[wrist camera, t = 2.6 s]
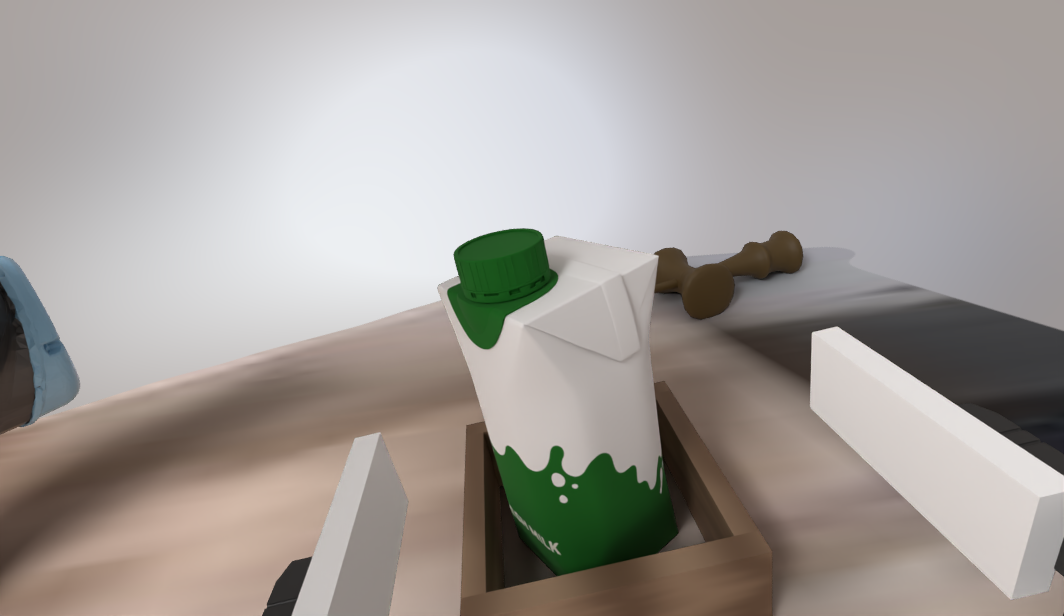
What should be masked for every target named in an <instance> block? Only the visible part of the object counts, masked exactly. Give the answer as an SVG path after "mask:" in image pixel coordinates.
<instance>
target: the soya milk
mask: <svg viewBox="0 0 1064 616" xmlns="http://www.w3.org/2000/svg"><path fill="white" fill-rule="evenodd" d="M658 258H659V256H658V255H653V254H648V253H643V252H637V251H633V250H628V249H622V248H618V247H612V246H607V245H602V244H597V243H592V242H586V241H581V240H576V239H571V238H566V237H560V236H554V237H552V238H550V239H547V240H545V241H544V238H543V236H542V234H541V233H540V232H539V231H537V230H534V229H509V230H503V231H497V232H493V233H489V234H486V235H483V236H479V237H477V238H474V239H472V240H470V241H467V242H466V243H464V244H462V245H461V246H459V247H458V248H457V249H456V250H455V252H454V260H455V263H456V267H457V271H458V275H459V276H457V277H455V278H452V279H450V280H448V281H446V282H444V283H441V284H439V285H438V288H437V289H438V292H439V294H440V297H441V299H442V302H443V304H444V307H445V309H446V312H447V314H448V317H449V319H450V322H451V324H452V327H453V329H454V332H455V334H456V337H457V339H458V342H459V345H460V347H461V350H462V352H463V355H464V357H465V360H466V363H467V365H468V368H469V371H470V374H471V376H472V380H473V383H474V386H475V390H476V393H477V396H478V400H479V403H480V407H481V410H482V414H483V417H484V420H485V424H486V427H487V431H488V434H489V437H490V441H491V444H492V448H493V451H494V454H495V458H496V461H497V465H498V468H499V472H500V475H501V478H502V482H503V485H504V489H505V492H506V495H507V499H508V502H509V506H510V509H511V512H512V515H513V518H514V522H515V525H516V528H517V531H518V534H519V537H520V539H521V540H522V541H523V542H524V543H525V544H526V545H527V546H528V547H529V548H530V549H531V550H532V551H533V552H534V553H535V554H536V555H537V556H538V557H539V558H540V559H541V560H542V561H543V562H544V563H545V564H546V565H547V566H548V567H549V568H550V569H551V570H552V572H553V573H554V574H555V575H556V576H561V575H566V574H570V573H574V572H579V571H583V570H587V569H592V568H596V567H601V566H605V565H609V564H614V563H618V562H623V561H627V560H631V559H636V558H640V557H645V556H649V555H653V554H656V553H658V552H659V551H660V550H661V549H662V548H663V547H664V546H665V545H666V544H667V543H668V542H669V541H670V540H671V539H672V538H673V537H675V536H676V535H677V534H678V528H677V524H676V520H675V515H674V511H673V506H672V502H671V497H670V493H669V488H668V484H667V479H666V475H665V470H664V465H663V460H662V451H661V443H660V434H659V425H658V417H657V408H656V399H655V390H654V381H653V372H652V363H651V354H650V344H649V332H650V323H651V315H652V307H653V298H654V290H655V282H656V274H657V266H658Z"/></svg>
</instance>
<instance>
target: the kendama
mask: <svg viewBox="0 0 1064 616" xmlns="http://www.w3.org/2000/svg"><path fill="white" fill-rule="evenodd" d="M653 255H658V256H659V258H658V266H657V274H656V282H655V290H654V294H655V293H670V292H678V293H680V294H682V300H683V304H684V308H685V310H686V311H687V313H688V314H689V315H690V316H691V317H693V318H697V319H700V320H702V319H706V318H710V317H713V316H715V315H718V314H720V313H722V312H723V311H724V310H725V309H726V308H727V307H728V306H729V304H730V302H731V300H732V298H733V294H734V286H735V284H734V279H733V277H736V276H752V277H754V278H757V279H763V278H765V277H767V276H768V274H769V273H770V272H775V271H780V272H784V273H789V274H791V273H794V272H796V271H798V270H799V268H800V267H801V265H802V260H803V250H802V246H801V244H800V242H799V240H798V239H797V238H796V237H795V236H794V235H793V234H792V233H789V232H787V231H778V232H776V233H774V234H772V235H771V237H770V239H769V241H766V242H763V243H757V242H749V243H747V244H745V245H744V247H743V249H742V251H741V252H740V253H738V254H736V255H735V256H733V257H730V258H728V259H726V260H724V261H722V262H720V263H716V264H706V265H703V266H701V267H698V268H693V267H691V266H689V265H688V262H687V258H686V256H685V255H684V254H683V252H682V251H681V250H679V249H676V248H664V249H661V250H660V251H657V252H655V253H654V254H653Z"/></svg>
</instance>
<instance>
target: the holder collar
mask: <svg viewBox="0 0 1064 616" xmlns="http://www.w3.org/2000/svg"><path fill="white" fill-rule="evenodd" d="M654 390H655V399H656V408H657V417H658V425H659V434H660V443H661V451H662V455H663V457H664V459H665V461H666V463H667V465H668V467H669V469H670V471H671V473H672V475H673V477H674V479H675V481H676V483H677V485H678V487H679V489H680V491H681V493H682V495H683V497H684V499H685V501H686V503H687V505H688V507H689V510H690V512H691V514H692V516H693V518H694V520H695V522H696V524H697V526H698V528H699V530H700V532H701V534H702V536H703V538H704V540H705V542H706V543H702V544H697V545H693V546H688V547H684V548H680V549H675V550H671V551H666V552H662V553H658V554H653V555H649V556H645V557H640V558H636V559H631V560H627V561H623V562H618V563H614V564H609V565H605V566H601V567H596V568H592V569H587V570H583V571H579V572H574V573H570V574H566V575H561V576H557V577H552V578H548V579H544V580H539V581H535V582H530V583H526V584H522V585H517V586H513V587H509V588H505V582H504V564H503V546H502V527H501V509H500V490H499V486H503V482H502V478H501V475H500V472H499V468H498V465H497V461H496V458H495V454H494V451H493V448H492V444H491V441H490V437H489V434H488V431H487V427H486V424H485V421H484V422H480V423H475V424H471V425H466V455H465V486H464V517H463V548H462V579H461V610H460V616H772V550H771V549H770V547H769V546H768V544H767V542H766V541H765V539H764V538H763V536H762V534H761V533H760V531H759V530H758V528H757V527H756V525H755V523H754V522H753V520H752V519H751V517H750V515H749V514H748V512H747V511H746V509H745V508H744V506H743V504H742V503H741V501H740V500H739V498H738V496H737V495H736V493H735V492H734V490H733V489H732V487H731V485H730V484H729V482H728V481H727V479H726V478H725V476H724V474H723V473H722V471H721V470H720V468H719V466H718V465H717V463H716V462H715V460H714V459H713V457H712V455H711V454H710V452H709V451H708V449H707V447H706V446H705V444H704V443H703V441H702V440H701V438H700V436H699V435H698V433H697V432H696V430H695V428H694V427H693V425H692V424H691V422H690V421H689V419H688V417H687V416H686V414H685V413H684V411H683V409H682V408H681V406H680V405H679V403H678V402H677V400H676V398H675V397H674V395H673V394H672V392H671V390H670V389H669V387H668V386H667V384H666V383H665V381H662V382H658V383H654Z"/></svg>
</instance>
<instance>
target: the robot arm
mask: <svg viewBox="0 0 1064 616" xmlns="http://www.w3.org/2000/svg"><path fill="white" fill-rule="evenodd" d="M79 389H80V380H79V377H78V374H77V372H76V369H75V367H74V365H73V363H72V361H71V358H70V356H69V355H68V353H67V351H66V349H65V347H64V345H63V344H62V342H61V341H60V338H59V336H58V334H57V332H56V330H55V327H54V325H53V323H52V321H51V319H50V317H49V316H48V314H47V312H46V310H45V308H44V306H43V305H42V303H41V301H40V299H39V298H38V296H37V294H36V292H35V290H34V289H33V287H32V286H31V284H30V282H29V280H28V279H27V277H26V275H25V274H24V272H23V271H22V269H21V268H20V266H19V265H18V264H17V263H16V262H15V261H14V260H13V259H10V258H8V257H5V256H0V434H3V433H5V432H7V431H10V430H12V429H14V428H17V427H25V426H28V425H31V424H33V423H35V421H37V419H38V418H39V417H41V416H43V415H45V414H47V413H49V412H51V411H53V410H56V409H58V408H60V407H62V406H64V405H66V404H68V403H69V402H70V401H72V400H73V399H74V398H75V397H76V395H77V394H78V392H79ZM810 408H811V409H812V410H813V411H814V412H815V413H816V414H817V415H818V416H819V417H820V418H821V419H822V420H823V421H824V422H825V423H827V424H828V425H829V426H830V427H831V428H832V429H833V430H834V431H835V432H836V433H837V434H838V435H839V436H840V437H841V438H842V439H843V440H844V441H845V442H846V443H847V444H848V445H850V446H851V447H852V448H853V449H854V450H855V451H856V452H857V453H858V454H859V455H860V456H861V457H862V458H863V459H864V460H865V461H866V462H867V463H868V464H869V465H870V466H871V467H873V468H874V469H875V470H876V471H877V472H878V473H879V474H880V475H881V476H882V477H883V478H884V479H885V480H886V481H887V482H888V483H889V484H890V485H891V486H892V487H893V488H894V489H896V490H897V491H898V492H899V493H900V494H901V495H902V496H903V497H904V498H905V499H906V500H907V501H908V502H909V503H910V504H911V505H912V506H913V507H914V508H915V509H916V510H917V511H919V512H920V513H921V514H922V515H923V516H924V517H925V518H926V519H927V520H928V521H929V522H930V523H931V524H932V525H933V526H934V527H935V528H936V529H937V530H938V531H939V532H940V533H941V534H943V535H944V536H945V537H946V538H947V539H948V540H949V541H950V542H951V543H952V544H953V545H954V546H955V547H956V548H957V549H958V550H959V551H960V552H961V553H962V554H963V555H964V556H966V557H967V558H968V559H969V560H970V561H971V562H972V563H973V564H974V565H975V566H976V567H977V568H978V569H979V570H980V571H981V572H982V573H983V574H984V575H985V576H986V577H987V578H989V579H990V580H991V581H992V582H993V583H994V584H995V585H996V586H997V587H998V588H999V589H1000V590H1001V591H1002V592H1003V593H1004V594H1005V595H1006V596H1007V597H1008V598H1009V599H1010V600H1014V599H1018V598H1022V597H1026V596H1031V595H1035V594H1039V593H1043V592H1048V591H1049V588H1050V585H1051V582H1052V579H1053V576H1054V572H1055V570H1056V571H1058V572H1059V573H1060V574H1061V575H1062V576H1064V454H1062V453H1061V452H1059V451H1058V450H1056V449H1054V448H1053V447H1051V446H1050V445H1048V444H1046V443H1045V442H1044V443H1041V442H1040V439H1038V438H1037V437H1035V436H1033V435H1032V434H1030V433H1029V432H1027V431H1022V430H1021V427H1019V426H1017V425H1016V424H1014V423H1013V422H1011V421H1009V420H1008V419H1006V418H1004V417H1003V416H1001V415H1000V414H998V413H996V412H993V411H990V410H988V409H985V408H982V407H980V406H977V405H974V404H972V403H965V404H961V405H955V404H954V403H952V402H951V401H949V400H948V399H946V398H945V397H943V396H942V395H940V394H939V393H937V392H936V391H934V390H933V389H931V388H930V387H928V386H927V385H925V384H924V383H922V382H921V381H919V380H917V379H916V378H914V377H913V376H911V375H910V374H908V373H907V372H905V371H904V370H902V369H901V368H899V367H898V366H896V365H895V364H893V363H892V362H890V361H889V360H887V359H886V358H884V357H883V356H881V355H880V354H878V353H876V352H875V351H873V350H872V349H870V348H869V347H867V346H866V345H864V344H863V343H861V342H860V341H858V340H857V339H855V338H854V337H852V336H851V335H849V334H848V333H846V332H845V331H843V330H842V329H840V328H838V327H833V328H829V329H825V330H820V331H816V332H812V354H811V391H810ZM407 506H408V499H407V496H406V494H405V491H404V489H403V487H402V484H401V482H400V479H399V477H398V474H397V472H396V469H395V467H394V465H393V462H392V460H391V457H390V455H389V452H388V450H387V448H386V445H385V443H384V440H383V438H382V435H381V433H380V432H379V433H375V434H370V435H366V436H362V437H357V438H355V439H354V442H353V445H352V448H351V450H350V453H349V456H348V459H347V462H346V464H345V467H344V470H343V473H342V476H341V478H340V481H339V484H338V487H337V490H336V492H335V495H334V498H333V501H332V504H331V506H330V509H329V512H328V515H327V518H326V520H325V523H324V526H323V529H322V532H321V534H320V537H319V540H318V543H317V546H316V548H315V551H314V554H313V557H308V558H304V559H300V560H295V561H292V562H291V563H290V565H289V566H288V567H287V569H286V570H285V571H284V572H283V574H282V575H281V576H280V578H279V579H278V580H277V581H276V583H275V586H274V588H273V590H272V593H271V595H270V598H269V600H268V603H267V609H265V610H264V612H263V615H262V616H389V611H390V606H391V600H392V594H393V588H394V582H395V576H396V571H397V565H398V559H399V553H400V547H401V541H402V536H403V530H404V524H405V518H406V512H407ZM1063 616H1064V614H1063Z"/></svg>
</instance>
